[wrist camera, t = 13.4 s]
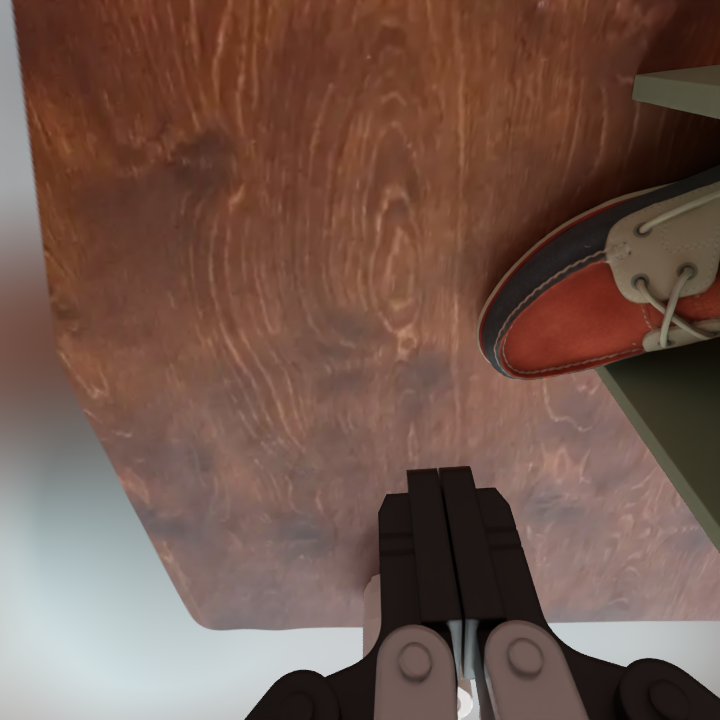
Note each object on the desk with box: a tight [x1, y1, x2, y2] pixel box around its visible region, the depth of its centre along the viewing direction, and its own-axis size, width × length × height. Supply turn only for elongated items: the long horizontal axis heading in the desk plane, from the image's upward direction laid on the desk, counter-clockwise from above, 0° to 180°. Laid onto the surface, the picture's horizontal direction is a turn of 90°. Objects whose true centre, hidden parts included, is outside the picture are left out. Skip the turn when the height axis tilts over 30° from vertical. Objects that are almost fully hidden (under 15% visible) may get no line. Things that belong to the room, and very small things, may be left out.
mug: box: [363, 574, 473, 720], centre depth 49 cm, size 14×10×11 cm
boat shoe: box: [476, 165, 720, 380], centre depth 28 cm, size 10×27×8 cm, turn 121°
